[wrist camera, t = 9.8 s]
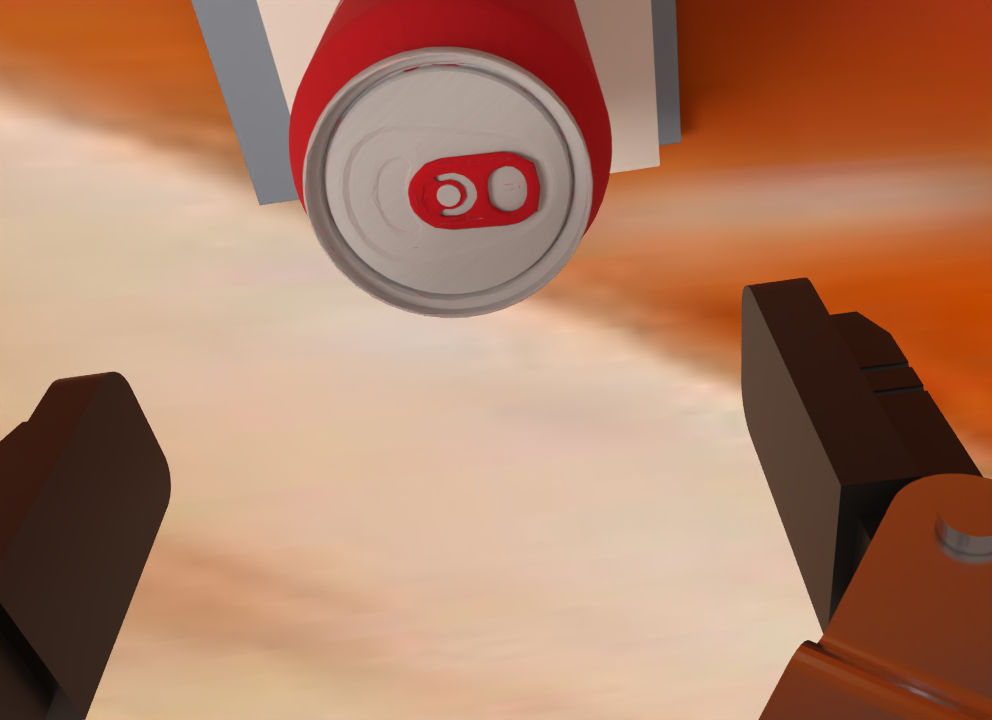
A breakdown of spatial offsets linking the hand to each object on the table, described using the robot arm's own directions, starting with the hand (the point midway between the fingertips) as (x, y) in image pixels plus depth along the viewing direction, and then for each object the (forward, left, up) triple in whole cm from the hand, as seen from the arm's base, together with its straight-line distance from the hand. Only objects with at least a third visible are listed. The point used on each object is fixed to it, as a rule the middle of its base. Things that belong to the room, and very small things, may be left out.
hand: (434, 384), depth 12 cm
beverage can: (0, 0, -18) cm, 18 cm away
